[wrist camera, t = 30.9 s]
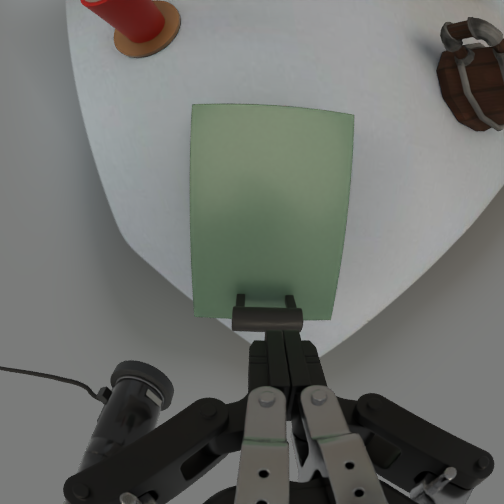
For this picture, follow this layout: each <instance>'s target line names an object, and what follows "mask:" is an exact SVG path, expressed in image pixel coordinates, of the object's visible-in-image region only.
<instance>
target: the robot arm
mask: <svg viewBox="0 0 504 504" xmlns="http://www.w3.org/2000/svg"><path fill="white" fill-rule="evenodd" d="M249 350H250V351H249V372H248V394H247V395H246V396H245V397H244V398H243V399H241V400H240V401H238V402H234V403H230V404H225V403H223V402H222V401H220V400H218V399H215V398H203V399H199V400H197V401H195V402H194V403H192V404H191V405H190V406H188V407H187V408H185V409H184V410H183V411H181V412H180V413H178V414H177V415H175V416H174V417H172V418H171V419H169V420H168V421H166V422H165V423H163V424H162V425H160V426H158V427H157V428H156V425H157V421H158V418H159V415H160V411H161V408H162V406H163V403H164V395H163V393H162V391H161V390H160V389H159V388H158V387H157V386H156V385H155V384H153V383H152V382H150V381H149V380H147V379H145V378H142V377H139V376H136V375H123V376H121V377H119V378H118V380H117V381H116V384H115V385H114V386H113V388H112V390H110V389H109V388H108V387H103V388H101V389H100V391H99V392H98V394H97V395H96V394H95V393H93V391H92V390H91V389H90V388H89V387H88V386H87V385H85V384H83V383H81V382H79V381H75V380H72V379H67V378H63V377H58V376H55V375H49V374H44V373H38V372H33V371H26V370H19V369H12V368H6V367H0V370H4V371H10V372H16V373H23V374H28V375H34V376H39V377H44V378H50V379H54V380H58V381H62V382H66V383H71V384H74V385H78V386H80V387H82V388H84V389H86V390H87V391H88V393H89V394H90V395H91V396H92V397H93V398H95V399H97V400H99V401H101V402H102V403H103V404H104V407H103V409H102V411H101V414H100V416H99V418H98V420H97V425H96V428H95V430H94V432H93V434H92V437H91V439H90V442H89V444H88V446H87V448H86V451H85V453H84V455H83V458H82V461H81V463H80V466H79V469H78V471H77V474H75V475H73V476H71V477H70V478H68V479H67V480H66V482H65V484H64V488H63V492H64V496H65V498H66V499H65V501H64V503H63V504H165V503H167V502H168V501H170V500H171V499H173V498H174V497H175V496H177V495H178V494H180V493H181V492H182V491H184V490H185V489H186V488H188V487H189V486H190V485H192V484H193V483H194V482H196V481H197V480H198V479H199V478H201V477H202V476H203V475H204V474H206V473H207V472H208V471H209V470H211V469H212V468H213V467H214V466H215V465H216V464H218V463H219V462H220V461H221V460H222V459H224V458H225V457H226V456H227V455H228V453H231V452H235V451H240V450H241V455H240V462H239V471H238V478H237V486H233V487H229V488H227V489H224V490H222V491H220V492H218V493H216V494H215V495H213V496H211V497H210V498H209V499H208V500H207V501H205V502H204V503H203V504H466V502H467V500H468V498H469V496H470V494H471V492H472V490H473V489H474V487H476V486H477V485H478V484H480V483H481V482H482V481H483V480H484V479H486V478H487V477H488V476H489V475H490V474H491V473H492V471H493V469H494V460H493V457H492V456H491V455H490V454H489V453H488V452H487V451H484V450H482V449H480V448H478V447H476V446H474V445H472V444H470V443H468V442H466V441H464V440H462V439H460V438H457V437H456V436H454V435H452V434H450V433H448V432H446V431H444V430H442V429H440V428H438V427H437V426H435V425H433V424H431V423H429V422H427V421H426V420H424V419H422V418H420V417H418V416H416V415H414V414H413V413H411V412H409V411H407V410H406V409H404V408H402V407H400V406H398V405H397V404H395V403H393V402H392V401H390V400H388V399H386V398H385V397H383V396H381V395H379V394H375V393H369V394H365V395H363V396H361V397H360V398H359V399H358V401H355V400H348V399H343V398H339V397H337V396H336V395H335V393H334V392H333V391H332V390H331V389H329V388H328V387H327V384H326V380H325V377H324V373H323V370H322V366H321V364H320V360H319V357H318V353H317V350H316V347H315V346H314V345H313V344H312V343H311V342H310V341H301V338H300V334H299V330H266V331H265V341H259V340H254V342H253V343H252V345H251V346H250V349H249ZM286 421H292V431H291V440H292V444H293V449H294V453H295V458H296V463H297V467H298V482H293V481H289V443H288V442H287V440H286ZM376 473H377V474H378V475H380V476H382V477H383V478H385V479H387V480H388V481H390V482H392V483H393V484H395V485H397V486H398V487H400V488H402V489H404V490H405V491H407V492H409V493H410V498H409V497H407V496H405V495H404V494H402V493H401V492H399V491H398V490H396V489H394V488H393V487H391V486H390V485H388V484H387V483H385V482H383V481H381V480H379V479H378V477H377V474H376Z"/></svg>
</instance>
